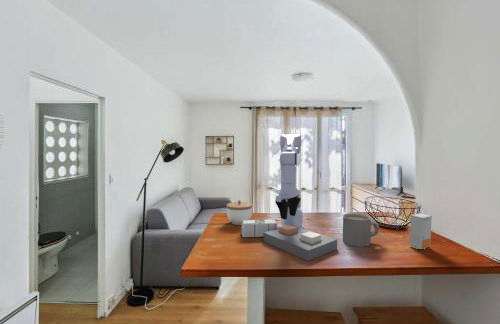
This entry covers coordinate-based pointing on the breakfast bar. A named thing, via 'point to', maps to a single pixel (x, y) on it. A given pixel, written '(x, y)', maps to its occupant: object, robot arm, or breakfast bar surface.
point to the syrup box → (257, 227)
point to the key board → (300, 243)
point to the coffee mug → (358, 229)
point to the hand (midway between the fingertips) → (288, 217)
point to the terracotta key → (288, 229)
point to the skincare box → (420, 231)
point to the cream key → (310, 237)
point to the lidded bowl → (239, 211)
